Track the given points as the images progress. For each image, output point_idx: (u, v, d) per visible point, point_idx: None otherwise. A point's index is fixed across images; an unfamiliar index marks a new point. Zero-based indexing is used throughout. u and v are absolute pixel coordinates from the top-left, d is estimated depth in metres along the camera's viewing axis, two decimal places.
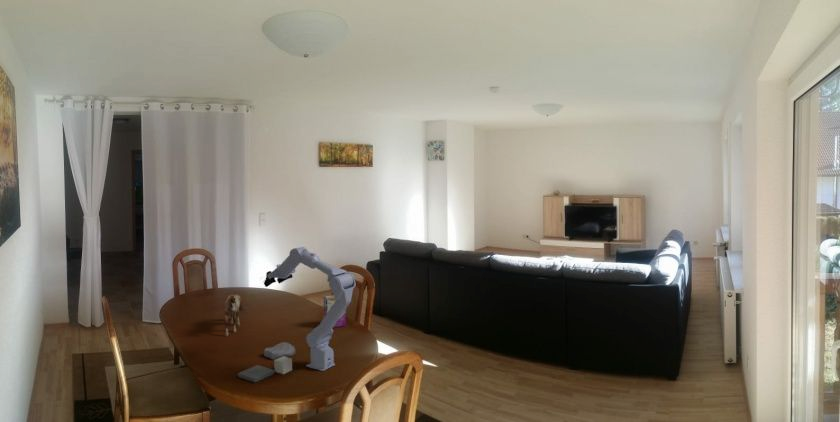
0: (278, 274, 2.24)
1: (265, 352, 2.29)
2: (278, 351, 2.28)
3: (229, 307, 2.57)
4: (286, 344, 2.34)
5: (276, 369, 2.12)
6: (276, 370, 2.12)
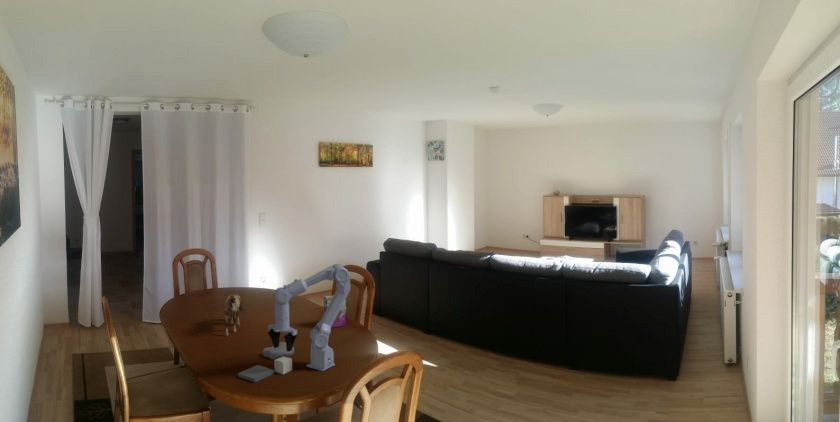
0: (288, 328, 2.11)
1: (264, 352, 2.29)
2: (277, 351, 2.29)
3: (229, 307, 2.57)
4: (285, 344, 2.35)
5: (276, 369, 2.12)
6: (276, 370, 2.12)
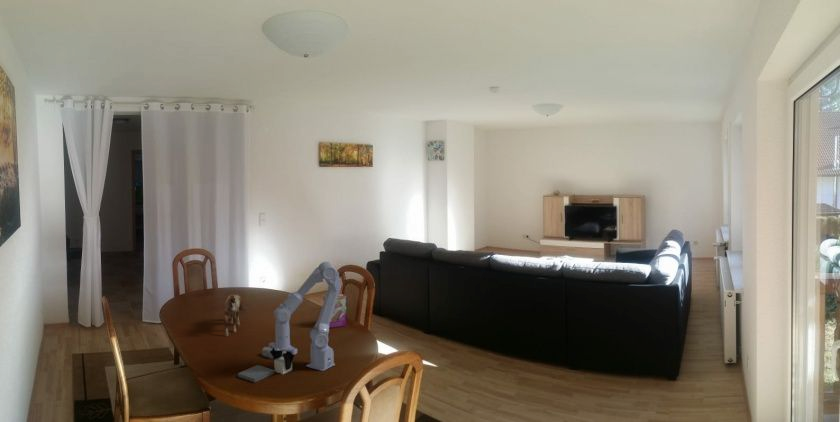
0: (289, 346, 2.12)
1: (263, 351, 2.30)
2: None
3: (229, 307, 2.57)
4: None
5: (276, 369, 2.12)
6: (276, 370, 2.12)
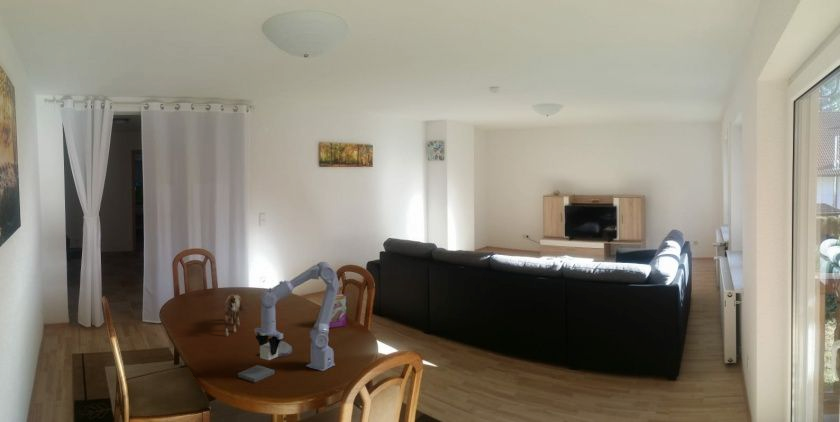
0: (275, 331, 2.09)
1: None
2: None
3: (229, 307, 2.57)
4: (283, 343, 2.36)
5: (262, 355, 2.09)
6: (261, 356, 2.09)
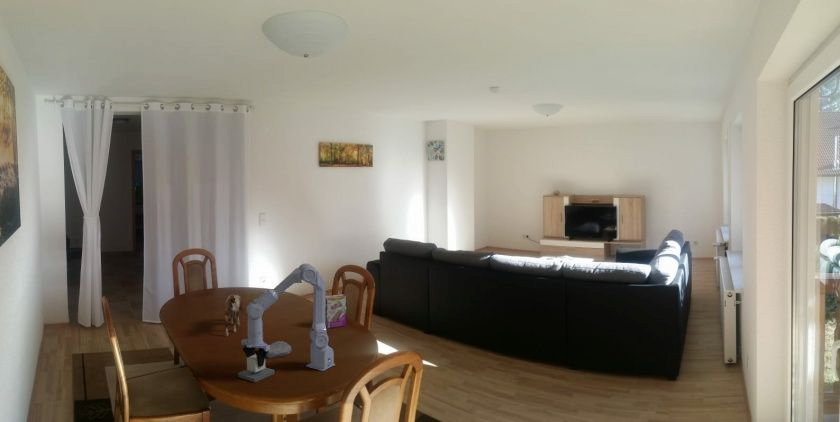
0: (261, 343, 2.07)
1: None
2: (274, 350, 2.30)
3: (229, 307, 2.57)
4: (282, 343, 2.36)
5: (249, 367, 2.08)
6: (249, 368, 2.08)
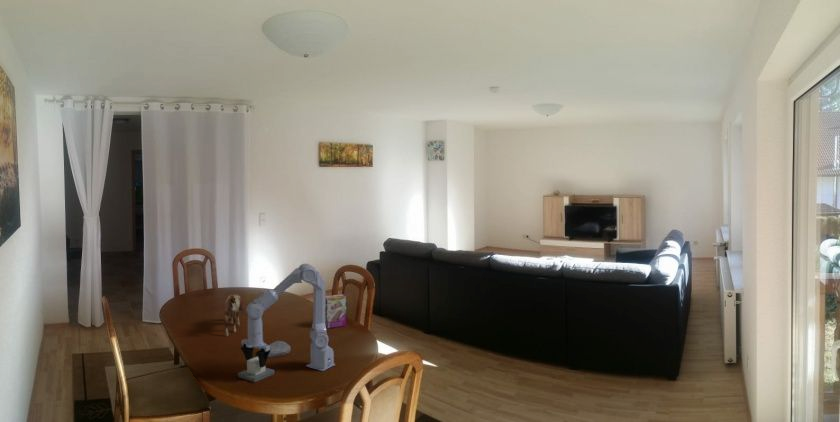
0: (261, 343, 2.07)
1: None
2: (274, 349, 2.30)
3: (229, 307, 2.57)
4: (281, 342, 2.36)
5: (249, 370, 2.08)
6: (249, 371, 2.08)
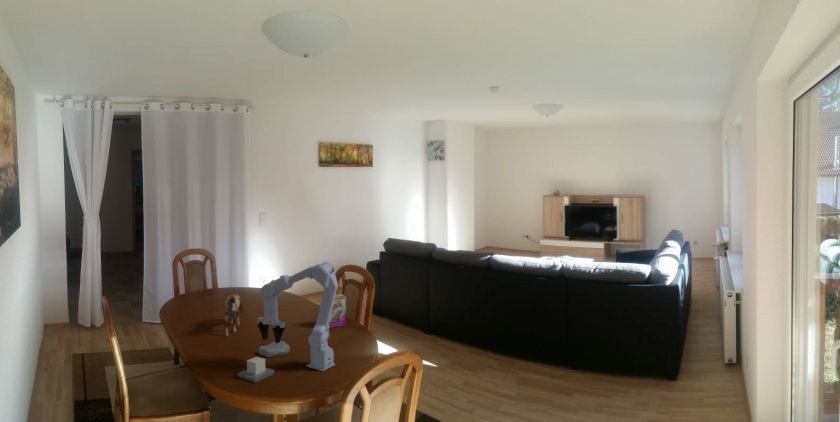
0: (277, 321, 2.20)
1: (260, 350, 2.31)
2: (273, 349, 2.31)
3: (229, 307, 2.57)
4: (281, 342, 2.37)
5: (249, 370, 2.08)
6: (249, 371, 2.08)
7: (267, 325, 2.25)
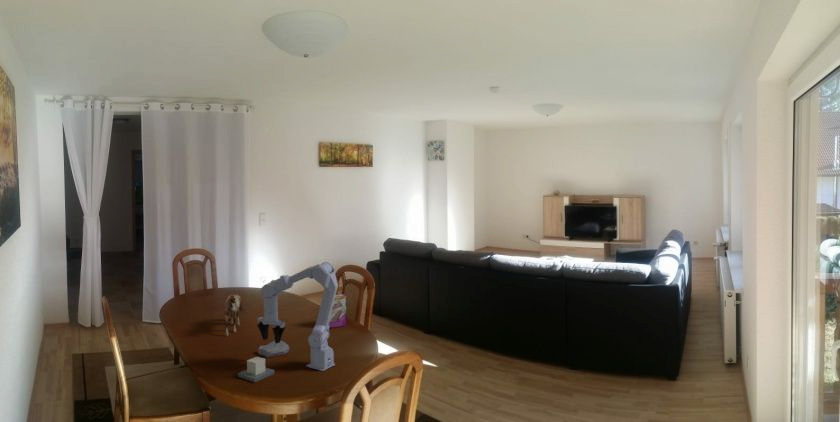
0: (277, 321, 2.20)
1: (259, 350, 2.32)
2: (272, 349, 2.31)
3: (229, 307, 2.57)
4: (280, 342, 2.37)
5: (249, 370, 2.08)
6: (249, 371, 2.08)
7: (267, 325, 2.25)
